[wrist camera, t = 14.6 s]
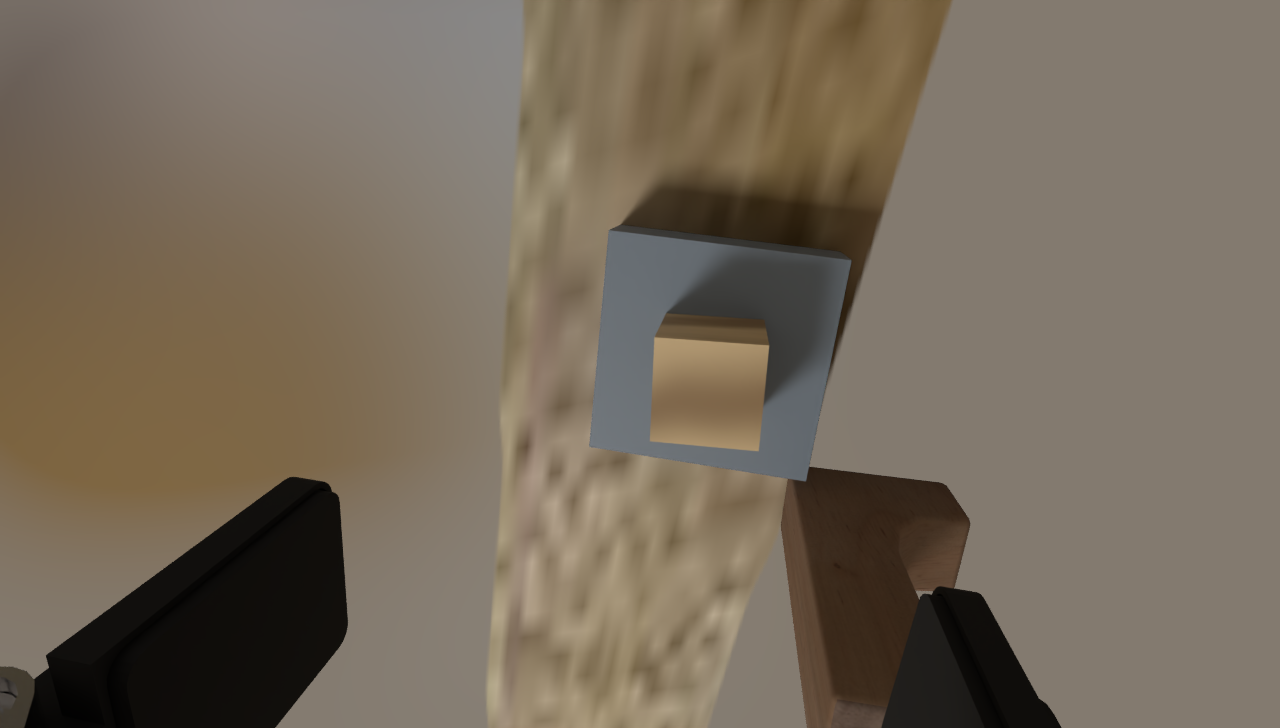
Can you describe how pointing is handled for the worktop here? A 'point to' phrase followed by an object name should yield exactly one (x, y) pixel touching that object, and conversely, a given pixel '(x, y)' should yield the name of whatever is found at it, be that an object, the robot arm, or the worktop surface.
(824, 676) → the wooden block
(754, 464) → the slate base block
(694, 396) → the oak cube
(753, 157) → the worktop surface
